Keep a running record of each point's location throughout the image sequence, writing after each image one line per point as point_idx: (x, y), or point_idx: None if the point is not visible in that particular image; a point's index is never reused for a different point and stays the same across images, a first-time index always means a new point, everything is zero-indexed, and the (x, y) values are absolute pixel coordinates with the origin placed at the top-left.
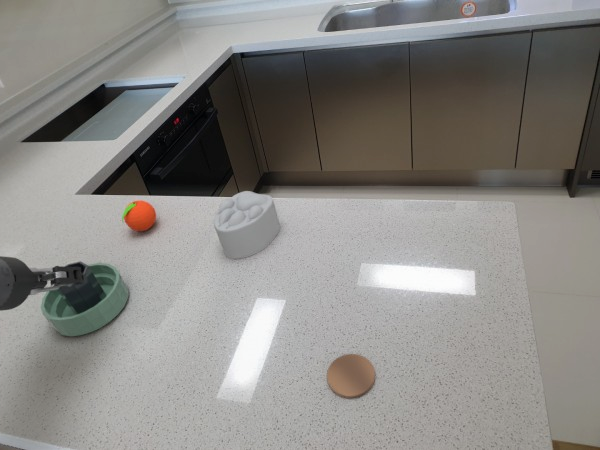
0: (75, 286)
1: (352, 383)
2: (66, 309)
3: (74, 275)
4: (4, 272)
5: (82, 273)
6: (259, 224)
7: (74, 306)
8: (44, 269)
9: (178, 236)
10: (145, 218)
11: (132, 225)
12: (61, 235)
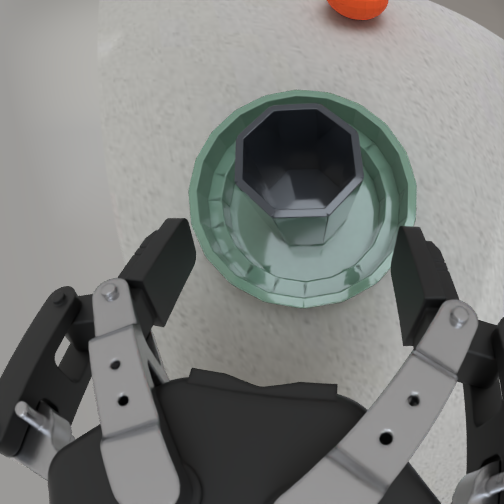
0: (330, 219)
1: None
2: (237, 199)
3: (496, 377)
4: None
5: (441, 256)
6: None
7: (289, 238)
8: (416, 444)
9: (438, 57)
10: (381, 2)
11: (350, 6)
12: (179, 11)
